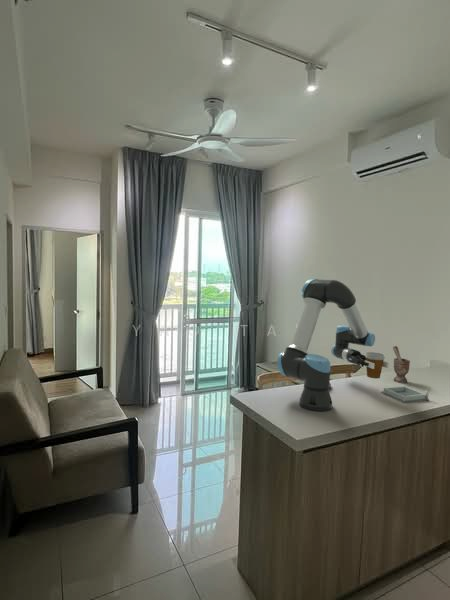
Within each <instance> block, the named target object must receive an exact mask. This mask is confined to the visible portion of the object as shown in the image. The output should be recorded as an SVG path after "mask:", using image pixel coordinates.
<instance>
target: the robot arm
mask: <svg viewBox="0 0 450 600" xmlns="http://www.w3.org/2000/svg"><path fill="white" fill-rule="evenodd" d="M301 297H302V299H303V303H304V306H303V309H302V312H301V314H300V317H299V321H298V323H297V326H296V329H295V332H294V334H293V338H292V341H291V343H290V345H289V346H287V347H285V350H284V351H281V352H280V353H278V356H277V359H276V366H277V370H278V372H279V373H280V375H282V376H284V377H287V378H291V379H296V380H299V381H303V388H302V389H303V390H302V391H301V394H300V397H299V402H298V405H299V406H300V407H302V408H303V409H305V410H309V411H313V412H328V411H330V410H332V408H333V401H332V396H331V393H330V387H329V383H330V382H331V381H330V380H331V379H330V378H331V361H330V360H329V359H328V358H327V357H325V356H323V355H319V354H314V353H313V354H312V353H310V354H309V353H308V349H309V346H310V343H311V341H312V337H313V334H314V332H315V329H316V325H317V322H318V320H319V316H320V314H321V311H322V309H325V308H326V304H327V303H331V304H335V305H336V306H337V308H339V309H340V310H341V312H342V314H343V315H344V317H345V320H346V321H347V323H348V326H347V325H337V326H336V331H335V343H334V344H333V345H332V347H331V349H330V351H331V355H332V356H334V357H336V358H337V359H340V360H343V361H346V362H347V363H351V364H353V365H357V366H361V368H364V367H369V368H372V369H374V365H375V364H374V363H372V362H369V361H366V357H365V355H364V354H362V353H361V351H359V350H356V349H354V348H350V347H349V346H350V344H353V345H358V346H364V347H373V346H374V345H375V342H376V336H375V334H374V333H371V332H369V331H368V329H367V327H366V325H365V322H364V321H363V318H362V316H361V313H360V311H359V309H358V307H357V304H356V303H357V299H356V297H355V294H354V292H352V291H351V289H350V288H349V286H347V285H346V284H344V282H341V281H339V280H336V279H319V278H314V279H312V278H311V279H308V280H306V282H305V283H304V284H303V285H302V289H301ZM389 366H390V363H389V362H388V361H384V360H383V365H382V368H385V369H389ZM330 384H331V383H330Z"/></svg>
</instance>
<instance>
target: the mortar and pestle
mask: <svg viewBox="0 0 450 600" xmlns="http://www.w3.org/2000/svg"><path fill="white" fill-rule="evenodd" d="M392 350H393V352H394V354H395V356H396V358H393V372H394V373H395V374H396V376H394V378H393V381H394V382H397V383H401V384H405V383H408V379H407V378H406V375H407V374H408V373H409V371H410V363H411V360H410V359H408V358H407V359H406V358H402V357H401V354H400V351H399V347H398V346H397V345H395V346H392Z"/></svg>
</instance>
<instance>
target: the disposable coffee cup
mask: <svg viewBox="0 0 450 600" xmlns="http://www.w3.org/2000/svg"><path fill="white" fill-rule="evenodd" d="M364 356H365V357H366V361H369V362H372V363H374V364H375V365H374V369H372V368H369V367H366V366H365V367H366V377H367V378H370V379H380V378H381V375H382V370H383V367H382V365H383V361H384V360H385V358H386V357H385V355H384V354H383V353H380V352H372V351H371V352H370V351H369V352H366V353H365V355H364Z"/></svg>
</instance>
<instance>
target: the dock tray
mask: <svg viewBox="0 0 450 600" xmlns="http://www.w3.org/2000/svg"><path fill="white" fill-rule="evenodd" d="M380 394H383V395H385V396H387V397H389V398H392V399H394V400H396V401H398V402H401V403H402V404H409V403H417V402H424V401H425V402H426V401H427V400H428V401H429V400H430V399H429V390H425V393H423V392H421V391H418V390H416V389H413V388H410V387H408V386H405V385H401V386H391V387H383V391H380Z"/></svg>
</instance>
